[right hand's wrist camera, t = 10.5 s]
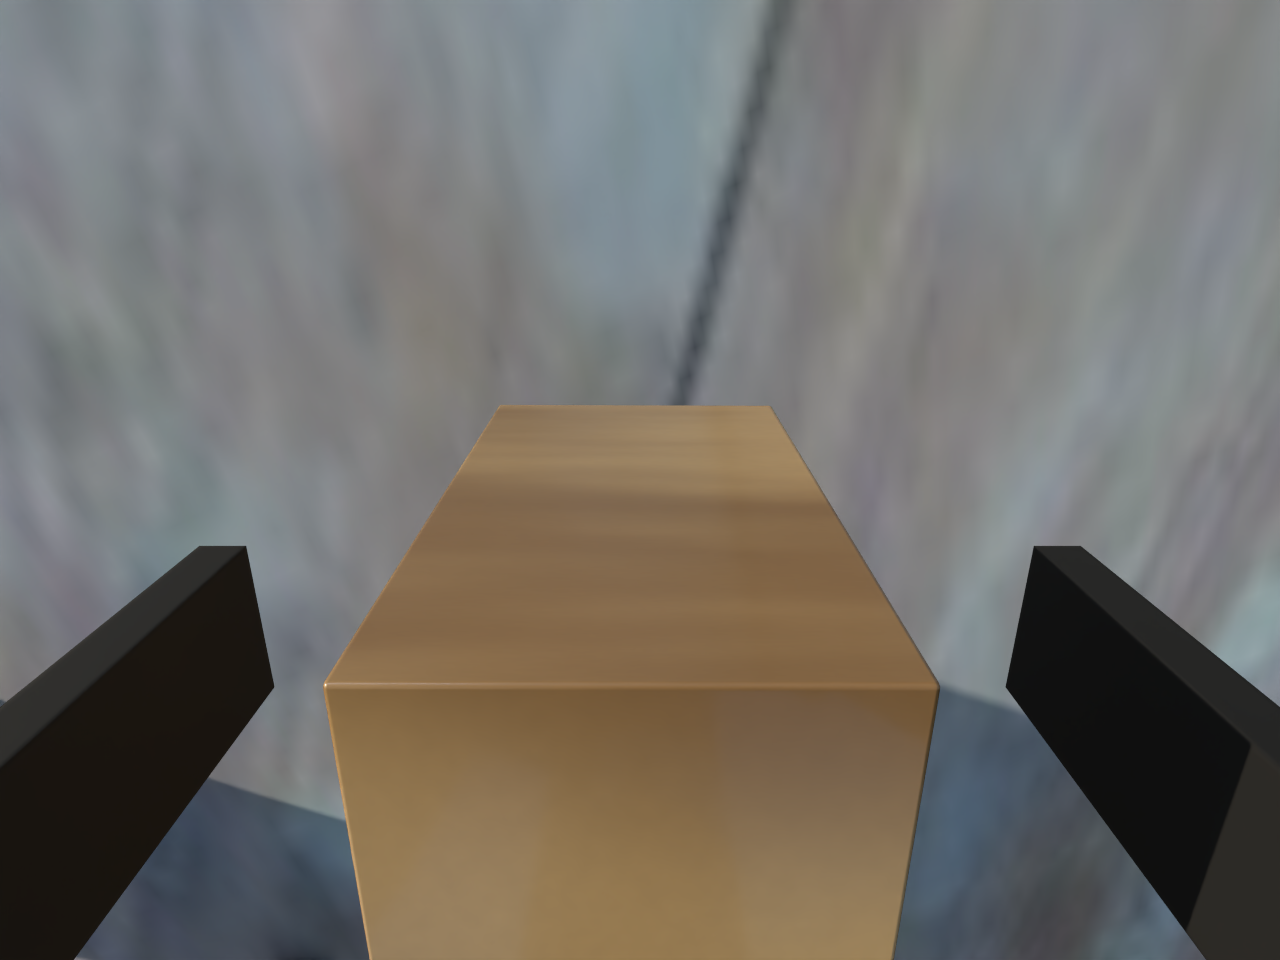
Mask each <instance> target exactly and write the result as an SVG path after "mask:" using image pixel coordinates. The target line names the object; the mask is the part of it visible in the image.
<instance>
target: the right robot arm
mask: <svg viewBox="0 0 1280 960" xmlns="http://www.w3.org/2000/svg"><path fill="white" fill-rule="evenodd" d="M273 688H274V683H273V678H272V673H271V668H270V663H269V658H268V653H267V648H266V643H265V638H264V633H263V628H262V623H261V618H260V613H259V608H258V603H257V598H256V593H255V588H254V583H253V578H252V573H251V568H250V563H249V558H248V553H247V548H246V546H199V547H198V548H196V549H195V550H194V551H193V552H191V553H190V554H189V555H188V556H187V557H185V558H184V559H183V560H182V561H180V562H179V563H178V564H177V565H175V566H174V567H173V568H172V569H170V570H169V571H168V572H167V573H165V574H164V575H163V576H162V577H161V578H159V579H158V580H157V581H156V582H154V583H153V584H152V585H151V586H149V587H148V588H147V589H146V590H144V591H143V592H142V593H141V594H140V595H138V596H137V597H136V598H135V599H133V600H132V601H131V602H130V603H128V604H127V605H126V606H125V607H123V608H122V609H121V610H120V611H118V612H117V613H116V614H115V615H114V616H112V617H111V618H110V619H109V620H107V621H106V622H105V623H104V624H102V625H101V626H100V627H99V628H97V629H96V630H95V631H94V632H93V633H91V634H90V635H89V636H88V637H86V638H85V639H84V640H83V641H81V642H80V643H79V644H78V645H76V646H75V647H74V648H73V649H71V650H70V651H69V652H68V653H67V654H65V655H64V656H63V657H62V658H60V659H59V660H58V661H57V662H55V663H54V664H53V665H52V666H50V667H49V668H48V669H47V670H46V671H44V672H43V673H42V674H41V675H39V676H38V677H37V678H36V679H34V680H33V681H32V682H31V683H29V684H28V685H27V686H26V687H24V688H23V689H22V690H21V691H20V692H18V693H17V694H16V695H15V696H13V697H12V698H11V699H10V700H8V701H7V702H6V703H5V704H3V705H2V706H1V707H0V960H74V959H75V957H76V956H77V955H78V953H79V952H80V951H81V949H82V948H83V946H84V945H85V944H86V942H87V941H88V940H89V938H90V937H91V936H92V934H93V933H94V932H95V930H96V929H97V927H98V926H99V925H100V923H101V922H102V921H103V919H104V918H105V917H106V915H107V914H108V912H109V911H110V910H111V908H112V907H113V906H114V904H115V903H116V902H117V900H118V899H119V898H120V896H121V895H122V893H123V892H124V891H125V889H126V888H127V887H128V885H129V884H130V883H131V881H132V880H133V878H134V877H135V876H136V874H137V873H138V872H139V870H140V869H141V868H142V866H143V865H144V864H145V862H146V861H147V859H148V858H149V857H150V855H151V854H152V853H153V851H154V850H155V849H156V847H157V846H158V845H159V843H160V842H161V840H162V839H163V838H164V836H165V835H166V834H167V832H168V831H169V830H170V828H171V827H172V825H173V824H174V823H175V821H176V820H177V819H178V817H179V816H180V815H181V813H182V812H183V811H184V809H185V808H186V806H187V805H188V804H189V802H190V801H191V800H192V798H193V797H194V796H195V794H196V793H197V791H198V790H199V789H200V787H201V786H202V785H203V783H204V782H205V781H206V779H207V778H208V777H209V775H210V774H211V772H212V771H213V770H214V768H215V767H216V766H217V764H218V763H219V762H220V760H221V759H222V757H223V756H224V755H225V753H226V752H227V751H228V749H229V748H230V747H231V745H232V744H233V743H234V741H235V740H236V738H237V737H238V736H239V734H240V733H241V732H242V730H243V729H244V728H245V726H246V725H247V724H248V722H249V721H250V719H251V718H252V717H253V715H254V714H255V713H256V711H257V710H258V709H259V707H260V706H261V704H262V703H263V702H264V700H265V699H266V698H267V696H268V695H269V694H270V692H271V691H272V690H273ZM1006 688H1007V689H1008V691H1009V692H1010V694H1011V695H1012V696H1013V698H1014V699H1015V700H1016V702H1017V703H1018V704H1019V706H1020V707H1021V709H1022V710H1023V711H1024V713H1025V714H1026V715H1027V717H1028V718H1029V719H1030V721H1031V722H1032V723H1033V725H1034V726H1035V728H1036V729H1037V730H1038V732H1039V733H1040V734H1041V736H1042V737H1043V738H1044V740H1045V741H1046V743H1047V744H1048V745H1049V747H1050V748H1051V749H1052V751H1053V752H1054V753H1055V755H1056V756H1057V757H1058V759H1059V760H1060V762H1061V763H1062V764H1063V766H1064V767H1065V768H1066V770H1067V771H1068V772H1069V774H1070V775H1071V777H1072V778H1073V779H1074V781H1075V782H1076V783H1077V785H1078V786H1079V787H1080V789H1081V790H1082V791H1083V793H1084V794H1085V796H1086V797H1087V798H1088V800H1089V801H1090V802H1091V804H1092V805H1093V806H1094V808H1095V809H1096V810H1097V812H1098V813H1099V815H1100V816H1101V817H1102V819H1103V820H1104V821H1105V823H1106V824H1107V825H1108V827H1109V828H1110V830H1111V831H1112V832H1113V834H1114V835H1115V836H1116V838H1117V839H1118V840H1119V842H1120V843H1121V844H1122V846H1123V847H1124V849H1125V850H1126V851H1127V853H1128V854H1129V855H1130V857H1131V858H1132V859H1133V861H1134V862H1135V864H1136V865H1137V866H1138V868H1139V869H1140V870H1141V872H1142V873H1143V874H1144V876H1145V877H1146V878H1147V880H1148V881H1149V883H1150V884H1151V885H1152V887H1153V888H1154V889H1155V891H1156V892H1157V893H1158V895H1159V896H1160V898H1161V899H1162V900H1163V902H1164V903H1165V904H1166V906H1167V907H1168V908H1169V910H1170V911H1171V912H1172V914H1173V915H1174V917H1175V918H1176V919H1177V921H1178V922H1179V923H1180V925H1181V926H1182V927H1183V929H1184V930H1185V931H1186V933H1187V934H1188V936H1189V937H1190V938H1191V940H1192V941H1193V942H1194V944H1195V945H1196V946H1197V948H1198V949H1199V951H1200V952H1201V953H1202V955H1203V956H1204V957H1205V959H1206V960H1280V707H1279V706H1278V705H1277V704H1275V703H1274V702H1273V701H1272V700H1270V699H1269V698H1268V697H1267V696H1265V695H1264V694H1263V693H1262V692H1260V691H1259V690H1258V689H1257V688H1256V687H1254V686H1253V685H1252V684H1251V683H1249V682H1248V681H1247V680H1246V679H1244V678H1243V677H1242V676H1241V675H1239V674H1238V673H1237V672H1236V671H1235V670H1233V669H1232V668H1231V667H1230V666H1228V665H1227V664H1226V663H1225V662H1223V661H1222V660H1221V659H1220V658H1218V657H1217V656H1216V655H1215V654H1213V653H1212V652H1211V651H1210V650H1209V649H1207V648H1206V647H1205V646H1204V645H1202V644H1201V643H1200V642H1199V641H1197V640H1196V639H1195V638H1194V637H1192V636H1191V635H1190V634H1189V633H1188V632H1186V631H1185V630H1184V629H1183V628H1181V627H1180V626H1179V625H1178V624H1176V623H1175V622H1174V621H1173V620H1171V619H1170V618H1169V617H1168V616H1166V615H1165V614H1164V613H1163V612H1162V611H1160V610H1159V609H1158V608H1157V607H1155V606H1154V605H1153V604H1152V603H1150V602H1149V601H1148V600H1147V599H1145V598H1144V597H1143V596H1142V595H1141V594H1139V593H1138V592H1137V591H1136V590H1134V589H1133V588H1132V587H1131V586H1129V585H1128V584H1127V583H1126V582H1124V581H1123V580H1122V579H1121V578H1119V577H1118V576H1117V575H1116V574H1115V573H1113V572H1112V571H1111V570H1110V569H1108V568H1107V567H1106V566H1105V565H1103V564H1102V563H1101V562H1100V561H1098V560H1097V559H1096V558H1095V557H1094V556H1092V555H1091V554H1090V553H1089V552H1087V551H1086V550H1085V549H1084V548H1082V547H1081V546H1034V548H1033V553H1032V558H1031V563H1030V568H1029V573H1028V578H1027V583H1026V588H1025V593H1024V598H1023V603H1022V608H1021V613H1020V618H1019V623H1018V628H1017V633H1016V638H1015V643H1014V648H1013V653H1012V658H1011V663H1010V668H1009V673H1008V678H1007V683H1006Z"/></svg>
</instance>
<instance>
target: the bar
mask: <svg viewBox="0 0 1280 960" xmlns="http://www.w3.org/2000/svg"><path fill="white" fill-rule="evenodd" d="M323 689H324V695H325V701H326V707H327V713H328V718H329V724H330V730H331V736H332V742H333V748H334V753H335V759H336V765H337V771H338V777H339V783H340V788H341V794H342V800H343V806H344V812H345V818H346V824H347V829H348V835H349V841H350V847H351V853H352V859H353V864H354V870H355V876H356V882H357V888H358V894H359V899H360V905H361V911H362V917H363V923H364V929H365V934H366V940H367V946H368V952H369V958H370V960H894V954H895V949H896V943H897V937H898V931H899V925H900V919H901V914H902V908H903V902H904V896H905V890H906V884H907V879H908V873H909V867H910V861H911V855H912V849H913V843H914V838H915V832H916V826H917V820H918V814H919V808H920V803H921V797H922V791H923V785H924V779H925V773H926V768H927V762H928V756H929V750H930V744H931V738H932V733H933V727H934V721H935V715H936V709H937V703H938V698H939V692H940V685H939V683H938V681H937V679H936V678H935V676H934V674H933V673H932V671H931V669H930V668H929V666H928V664H927V663H926V661H925V659H924V658H923V656H922V655H921V653H920V651H919V650H918V648H917V646H916V645H915V643H914V641H913V640H912V638H911V636H910V635H909V633H908V631H907V630H906V628H905V627H904V625H903V623H902V622H901V620H900V618H899V617H898V615H897V613H896V612H895V610H894V608H893V607H892V605H891V603H890V602H889V600H888V598H887V597H886V595H885V594H884V592H883V590H882V589H881V587H880V585H879V584H878V582H877V580H876V579H875V577H874V575H873V574H872V572H871V570H870V569H869V567H868V566H867V564H866V562H865V561H864V559H863V557H862V556H861V554H860V552H859V551H858V549H857V547H856V546H855V544H854V542H853V541H852V539H851V538H850V536H849V534H848V533H847V531H846V529H845V528H844V526H843V524H842V523H841V521H840V519H839V518H838V516H837V514H836V513H835V511H834V509H833V508H832V506H831V505H830V503H829V501H828V500H827V498H826V496H825V495H824V493H823V491H822V490H821V488H820V486H819V485H818V483H817V481H816V480H815V478H814V477H813V475H812V473H811V472H810V470H809V468H808V467H807V465H806V463H805V462H804V460H803V458H802V457H801V455H800V453H799V452H798V450H797V449H796V447H795V445H794V444H793V442H792V440H791V439H790V437H789V435H788V434H787V432H786V430H785V429H784V427H783V425H782V424H781V422H780V420H779V419H778V417H777V416H776V414H775V412H774V411H773V409H772V407H770V406H618V405H501V406H499V407H498V409H497V411H496V412H495V414H494V415H493V417H492V418H491V420H490V422H489V423H488V425H487V426H486V428H485V430H484V431H483V433H482V434H481V436H480V437H479V439H478V441H477V442H476V444H475V445H474V447H473V448H472V450H471V452H470V453H469V455H468V456H467V458H466V460H465V461H464V463H463V464H462V466H461V467H460V469H459V471H458V472H457V474H456V475H455V477H454V478H453V480H452V482H451V483H450V485H449V486H448V488H447V489H446V491H445V493H444V494H443V496H442V497H441V499H440V501H439V502H438V504H437V505H436V507H435V508H434V510H433V512H432V513H431V515H430V516H429V518H428V519H427V521H426V523H425V524H424V526H423V527H422V529H421V531H420V532H419V534H418V535H417V537H416V538H415V540H414V542H413V543H412V545H411V546H410V548H409V549H408V551H407V553H406V554H405V556H404V557H403V559H402V560H401V562H400V564H399V565H398V567H397V568H396V570H395V572H394V573H393V575H392V576H391V578H390V579H389V581H388V583H387V584H386V586H385V587H384V589H383V590H382V592H381V594H380V595H379V597H378V598H377V600H376V601H375V603H374V605H373V606H372V608H371V609H370V611H369V613H368V614H367V616H366V617H365V619H364V620H363V622H362V624H361V625H360V627H359V628H358V630H357V631H356V633H355V635H354V636H353V638H352V639H351V641H350V643H349V644H348V646H347V647H346V649H345V650H344V652H343V654H342V655H341V657H340V658H339V660H338V661H337V663H336V665H335V666H334V668H333V669H332V671H331V672H330V674H329V676H328V677H327V679H326V680H325V682H324V685H323Z"/></svg>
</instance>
